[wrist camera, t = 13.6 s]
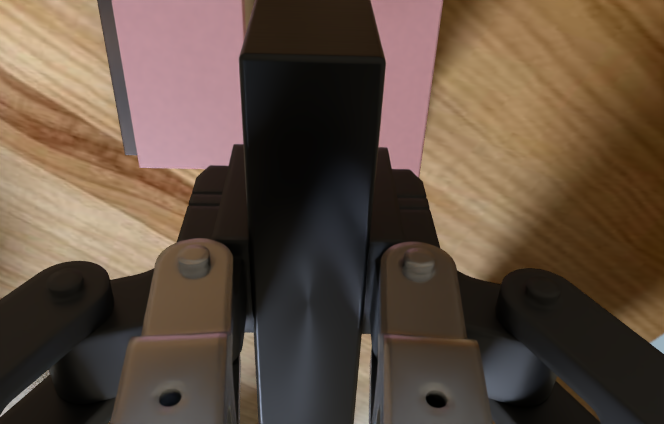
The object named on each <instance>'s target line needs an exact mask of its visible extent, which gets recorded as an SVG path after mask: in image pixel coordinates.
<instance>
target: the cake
mask: <svg viewBox="0 0 664 424" xmlns="http://www.w3.org/2000/svg"><path fill="white" fill-rule="evenodd" d="M254 2H255V0H112V6H113V12H114V18H115V24H116V30H117V36H118V42H119V48H120V54H121V60H122V66H123V72H124V78H125V84H126V90H127V96H128V102H129V108H130V114H131V120H132V126H133V132H134V138H135V143H136V149H137V155H138V161H139V167H140V168H182V169H206V168H207V167H208V166H210V165H223V166H229V162H230V157H231V153H232V149H233V145H234V144H243V129H242V111H241V93H240V75H239V56H240V52H241V49H242V45H243V41H244V38H245V34H246V31H247V27H248V23H249V20H250V16H251V13H252V9H253V6H254Z"/></svg>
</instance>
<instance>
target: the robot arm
mask: <svg viewBox="0 0 664 424" xmlns="http://www.w3.org/2000/svg"><path fill="white" fill-rule="evenodd" d="M244 332H254V329H253V311H252V293H251V274H250V256H249V238H248V220H247V202H246V184H245V166H244V148H243V144H234V145H233V149H232V153H231V157H230V162H229V166H223V165H210V166H208V167H207V168H206V169H205V170H204V171H203V172H202V173H201V174H200V175H199V176H198V177H197V178H196V181H195V184H194V188H193V191H192V194H191V197H190V201H189V206H188V207H187V211H186V214H185V217H184V220H183V224H182V227H181V230H180V233H179V237H178V240H177V243H175V244H173V245H171V246H169V247H167V248H166V249H165V250H164V251H162V253H161V254H160V255H159V256H158V258H157V260H156V263H155V268H154V269H152V270H149V271H147V272H144V273H141V274H137V275H133V276H128V277H123V278H118V279H113V280H110V279H109V275H108V273H107V271H106V270H105V269H104V268H103V267H101V266H99V265H98V264H95V263H92V262H87V261H71V262H64V263H60V264H57V265H54V266H51V267H49V268H47V269H45V270H43V271H41V272H40V273H38V274H37V275H35V276H34V277H32V278H31V279H29V280H28V281H27V282H25V283H24V284H22V285H21V286H19V287H18V288H16V289H15V290H14V291H12V292H11V293H9V294H8V295H6V296H5V297H4V298H2V299H1V300H0V415H1V413H2V411H3V410H4V408H5V407H6V406H7V405H8V404H9V403H10V402H11V401H12V400H13V399H14V398H15V397H16V396H18V395H19V394H20V393H21V392H22V391H23V390H25V389H26V388H27V387H28V386H29V385H30V384H32V383H33V382H34V381H35V380H36V379H38V378H39V377H40V376H41V375H42V374H43V373H45V372H46V371H47V370H49V372H50V375H49V376H48V377H47V378H45V379H44V380H43V381H42V382H41V383H40V384H38V385H37V386H36V387H35V388H34V389H33V390H31V391H30V392H29V393H28V394H27V395H26V396H25V397H23V398H22V399H21V400H20V401H19V402H18V403H16V404H15V405H14V406H13V407H12V408H11V409H9V410H8V411H7V412H6V413H5V414H4V415H2V416H1V417H0V424H107V423H108V422H109V421H110V420H111V422H110V424H240V378H241V359H240V352H241V350H242V346H243V339H244ZM362 334H371V340H372V350H371V360H370V393H369V424H493V421H494V422H495V423H496V424H664V354H663V353H662V352H660V351H659V350H658V349H656V348H655V347H654V346H652V345H651V344H650V343H648V342H647V341H646V340H645V339H643V338H642V337H641V336H639V335H638V334H637V333H635V332H634V331H633V330H631V329H630V328H629V327H628V326H626V325H625V324H624V323H622V322H621V321H620V320H618V319H617V318H616V317H615V316H613V315H612V314H611V313H609V312H608V311H607V310H605V309H604V308H603V307H601V306H600V305H599V304H598V303H596V302H595V301H594V300H592V299H591V298H590V297H588V296H587V295H586V294H584V293H583V292H582V291H581V290H579V289H578V288H577V287H575V286H574V285H573V284H571V283H570V282H569V281H567V280H566V279H564V278H563V277H561V276H559V275H557V274H554V273H552V272H549V271H545V270H541V269H533V268H525V269H518V270H515V271H513V272H511V273H509V274H508V275H506V276H505V278H504V279H503V281H502V284H501V285H499V284H495V283H491V282H487V281H483V280H479V279H475V278H472V277H469V276H467V275H465V274H463V273H461V272H459V271H457V269H456V265H455V262H454V260H453V259H452V258H451V256H450V255H449V254H447V253H446V252H445V251H443V250H442V249H440V245H439V241H438V238H437V234H436V230H435V226H434V223H433V219H432V215H431V211H430V210H429V204H428V200H427V199H426V193H425V189H424V185H423V182H422V181H421V180H420V179H419V178H418V177H417V176H416V175H415V174H414V173H413V172H412V171H411V170H410V169H392V167H391V162H390V157H389V152H388V148H387V147H378V158H377V169H376V180H375V191H374V202H373V213H372V224H371V235H370V246H369V258H368V269H367V280H366V291H365V302H364V313H363V324H362ZM557 376H558V377H559V378H560V379H561V380H562V381H563V382H565V383H566V384H567V385H568V386H569V387H570V388H571V389H572V390H573V391H574V392H575V393H576V394H578V395H579V396H580V397H581V398H582V399H583V400H584V401H585V402H586V403H587V404H588V405H589V406H590V407H591V408H592V409H593V410H594V411H595V413H596V414H597V416H598V418H599V420H600V421H599V420H597V419H596V418H595V417H594V416H593V415H592V414H591V413H590V412H589V411H588V410H587V409H586V408H585V407H584V406H582V405H581V404H580V403H579V402H578V401H577V400H576V399H575V398H574V397H573V396H572V395H571V394H570V393H569V392H567V391H566V390H565V389H564V388H563V387H562V386H561V385H560V384H559V383H558V382H557V381H556V378H557ZM492 420H493V421H492Z"/></svg>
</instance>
